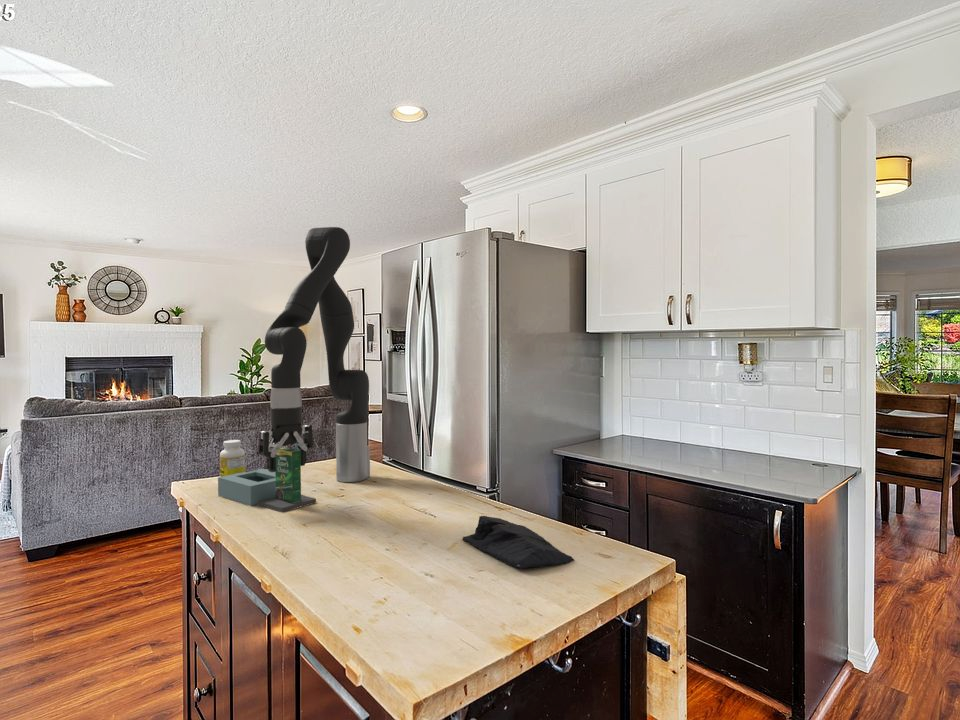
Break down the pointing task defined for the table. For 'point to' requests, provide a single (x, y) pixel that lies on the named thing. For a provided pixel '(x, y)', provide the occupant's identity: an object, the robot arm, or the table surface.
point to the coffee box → (288, 475)
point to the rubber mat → (285, 503)
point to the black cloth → (515, 544)
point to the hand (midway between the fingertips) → (287, 468)
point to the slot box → (248, 486)
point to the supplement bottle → (232, 458)
